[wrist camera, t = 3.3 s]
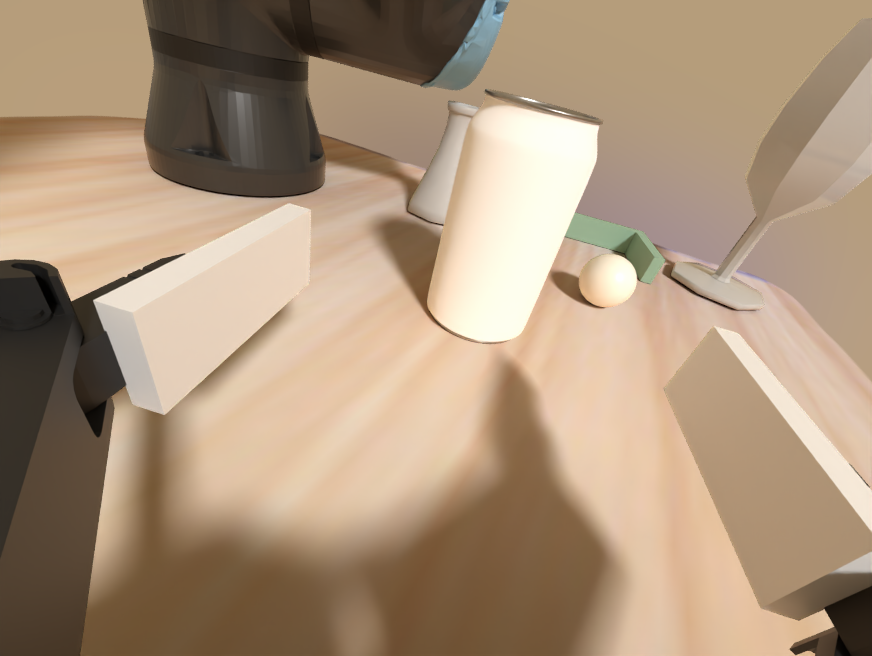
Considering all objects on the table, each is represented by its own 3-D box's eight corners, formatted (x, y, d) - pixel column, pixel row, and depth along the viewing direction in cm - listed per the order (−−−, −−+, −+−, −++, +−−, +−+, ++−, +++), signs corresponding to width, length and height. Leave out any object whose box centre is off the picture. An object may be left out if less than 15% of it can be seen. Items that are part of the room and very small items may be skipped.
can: (457, 279, 28) (509, 92, 21) (536, 318, 25) (624, 124, 19) (404, 311, 23) (450, 80, 16) (497, 363, 21) (596, 122, 14)
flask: (395, 212, 36) (412, 94, 30) (420, 196, 42) (439, 94, 36) (465, 236, 35) (497, 117, 29) (481, 216, 41) (510, 114, 35)
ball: (561, 295, 29) (583, 248, 27) (584, 285, 32) (606, 241, 29) (607, 323, 27) (635, 274, 25) (628, 309, 30) (655, 264, 27)
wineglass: (771, 304, 38) (991, 52, 26) (745, 321, 33) (1004, 18, 21) (687, 263, 43) (838, 37, 31) (653, 273, 38) (819, 7, 26)
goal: (650, 283, 35) (665, 260, 34) (517, 245, 36) (526, 220, 34) (631, 252, 42) (643, 231, 40) (519, 220, 42) (526, 198, 41)
